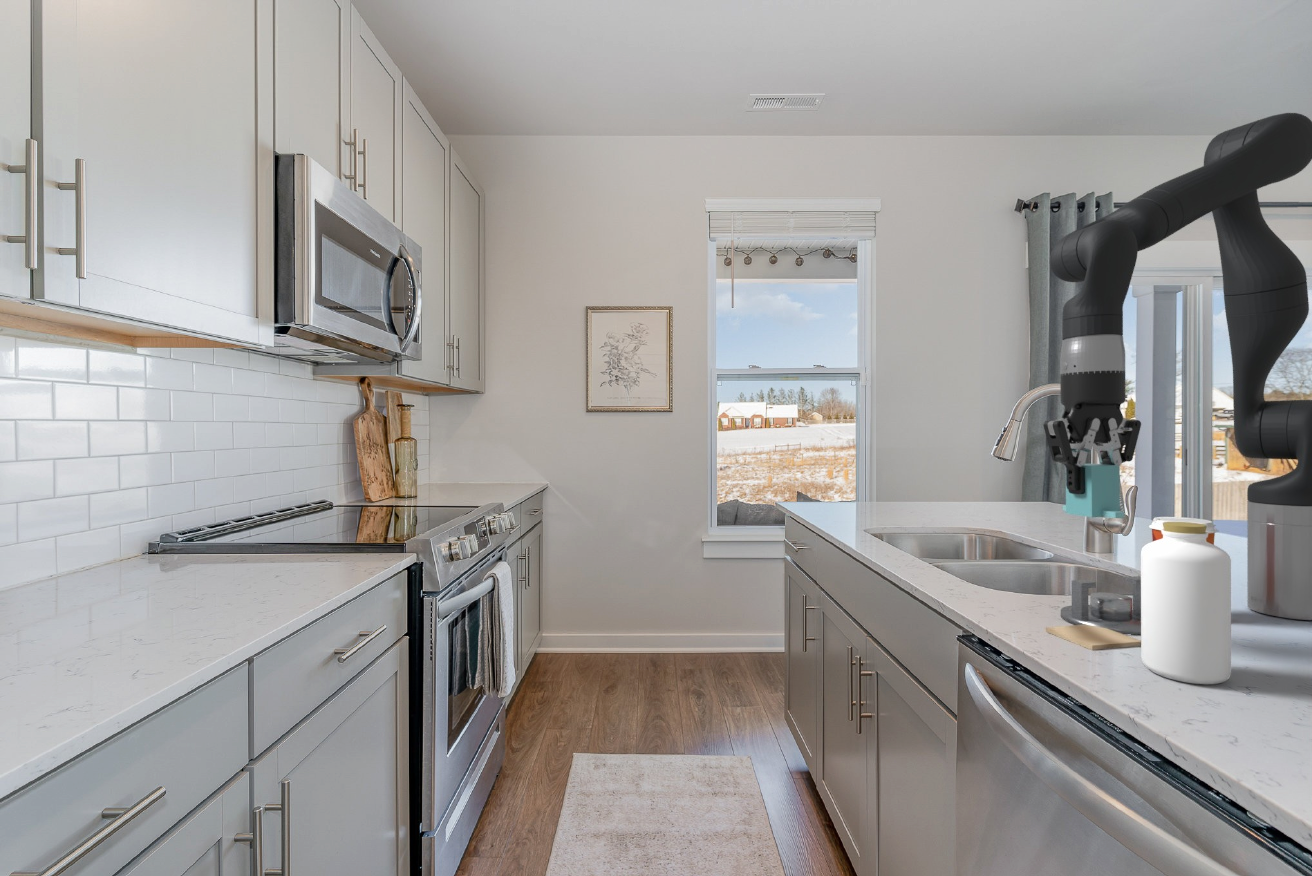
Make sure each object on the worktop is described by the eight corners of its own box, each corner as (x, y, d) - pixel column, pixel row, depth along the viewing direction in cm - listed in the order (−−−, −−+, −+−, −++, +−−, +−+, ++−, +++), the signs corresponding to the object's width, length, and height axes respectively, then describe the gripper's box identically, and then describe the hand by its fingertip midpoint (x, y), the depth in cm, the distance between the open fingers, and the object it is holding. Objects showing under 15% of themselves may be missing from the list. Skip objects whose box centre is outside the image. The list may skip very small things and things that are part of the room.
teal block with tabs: (1134, 518, 86) (1134, 466, 86) (1105, 519, 86) (1105, 466, 86) (1080, 510, 95) (1080, 462, 95) (1053, 511, 94) (1053, 463, 94)
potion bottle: (1142, 656, 83) (1142, 517, 83) (1229, 671, 78) (1229, 522, 78) (1139, 676, 77) (1138, 525, 77) (1233, 694, 72) (1232, 531, 71)
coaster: (1093, 627, 95) (1093, 623, 95) (1143, 645, 87) (1143, 641, 87) (1045, 631, 94) (1045, 627, 94) (1092, 650, 86) (1092, 645, 86)
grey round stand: (1110, 607, 106) (1110, 568, 105) (1189, 631, 93) (1189, 587, 93) (1040, 612, 103) (1040, 572, 103) (1111, 638, 90) (1111, 592, 90)
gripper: (1068, 367, 85) (1069, 497, 85) (1161, 368, 88) (1161, 494, 88) (1026, 373, 92) (1027, 492, 93) (1112, 373, 95) (1113, 489, 95)
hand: (1092, 492), depth 90 cm, fingers closed on teal block with tabs, 4 cm apart
